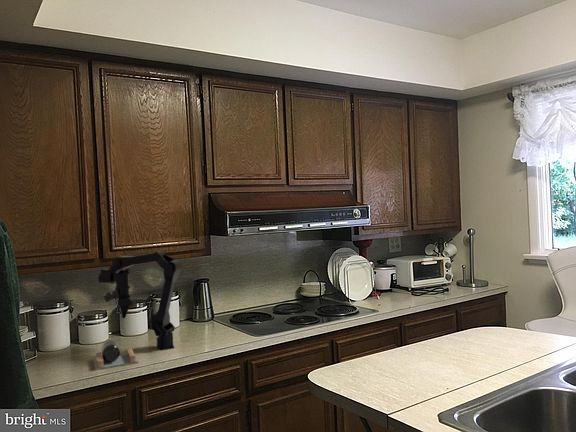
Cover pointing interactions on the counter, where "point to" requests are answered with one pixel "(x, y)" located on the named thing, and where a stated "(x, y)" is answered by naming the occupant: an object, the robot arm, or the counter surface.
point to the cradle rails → (128, 350)
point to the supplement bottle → (110, 350)
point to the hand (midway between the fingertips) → (123, 317)
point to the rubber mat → (115, 362)
